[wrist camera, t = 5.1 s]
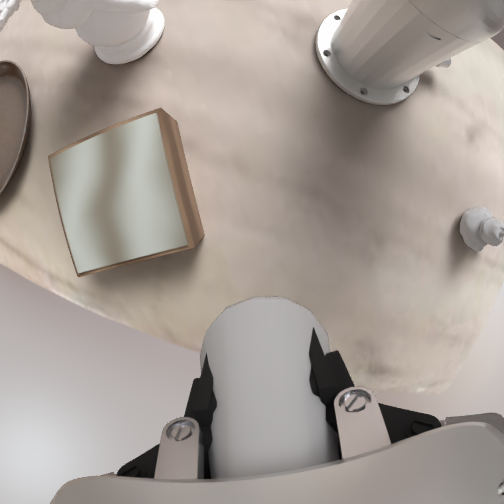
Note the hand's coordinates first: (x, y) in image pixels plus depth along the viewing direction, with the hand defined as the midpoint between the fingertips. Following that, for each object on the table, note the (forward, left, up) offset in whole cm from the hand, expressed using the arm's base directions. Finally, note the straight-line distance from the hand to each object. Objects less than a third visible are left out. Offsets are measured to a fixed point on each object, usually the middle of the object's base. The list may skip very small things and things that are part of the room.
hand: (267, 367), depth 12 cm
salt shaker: (0, 0, -4) cm, 4 cm away
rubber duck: (-28, +2, -19) cm, 34 cm away
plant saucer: (+31, -26, -19) cm, 45 cm away
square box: (+10, -10, -19) cm, 24 cm away
